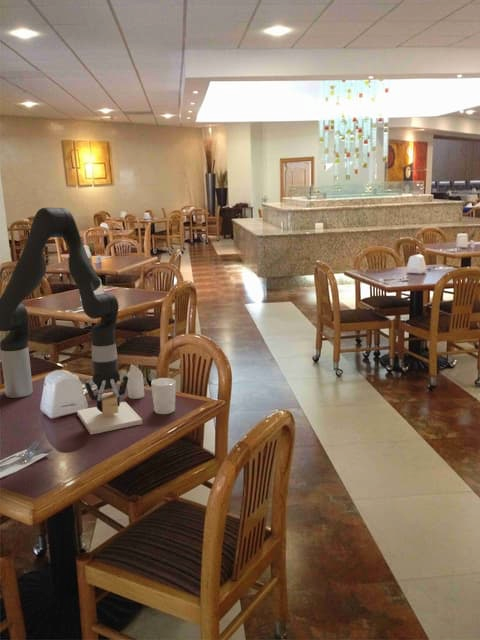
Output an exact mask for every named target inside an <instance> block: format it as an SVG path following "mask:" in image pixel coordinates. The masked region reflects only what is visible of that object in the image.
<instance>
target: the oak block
mask: <svg viewBox="0 0 480 640" xmlns="http://www.w3.org/2000/svg"><path fill="white" fill-rule="evenodd" d="M101 401H102V411H101V412H102V413H103V415H109V414H114V413H118V402H117V397H116V396H115V395H114V393H113V391H109V392H103V394H102V397H101Z"/></svg>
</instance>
